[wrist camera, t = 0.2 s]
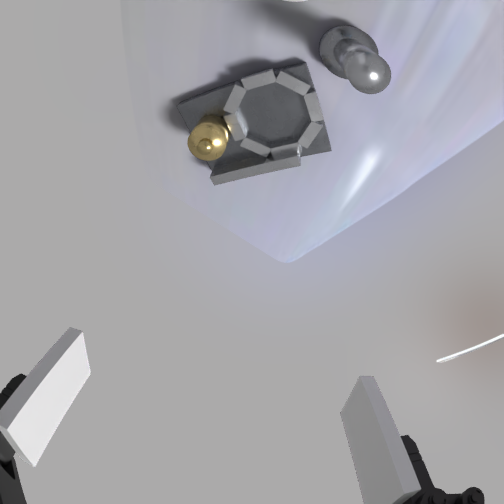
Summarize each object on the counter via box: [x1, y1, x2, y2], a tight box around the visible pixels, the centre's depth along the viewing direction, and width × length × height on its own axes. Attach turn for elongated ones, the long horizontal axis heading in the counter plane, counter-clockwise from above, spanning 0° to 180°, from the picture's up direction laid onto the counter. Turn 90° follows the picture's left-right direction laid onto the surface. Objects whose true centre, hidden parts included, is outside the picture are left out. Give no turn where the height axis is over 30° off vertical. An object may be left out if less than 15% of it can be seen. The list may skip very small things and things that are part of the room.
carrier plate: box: [177, 62, 331, 185], centre depth 35 cm, size 14×18×6 cm
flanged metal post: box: [319, 26, 391, 94], centre depth 24 cm, size 7×7×12 cm
